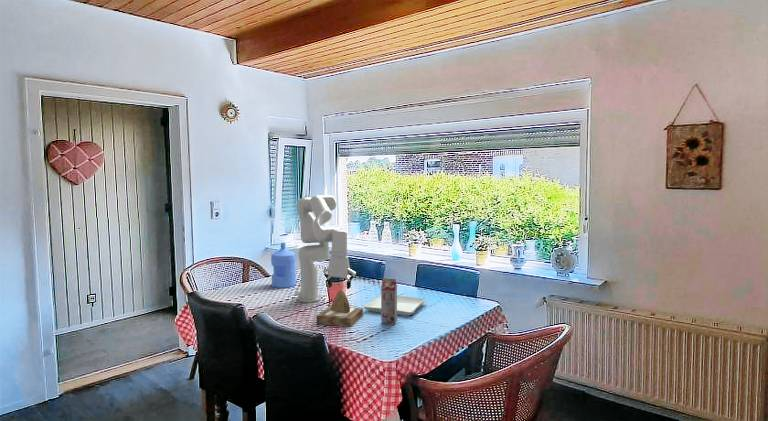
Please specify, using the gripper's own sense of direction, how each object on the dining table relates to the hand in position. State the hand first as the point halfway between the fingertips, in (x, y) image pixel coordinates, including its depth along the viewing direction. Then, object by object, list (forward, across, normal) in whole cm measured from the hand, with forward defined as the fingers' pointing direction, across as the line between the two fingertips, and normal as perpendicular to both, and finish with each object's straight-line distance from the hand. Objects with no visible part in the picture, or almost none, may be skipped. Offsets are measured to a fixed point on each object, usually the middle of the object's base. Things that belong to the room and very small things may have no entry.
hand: (339, 287), depth 240 cm
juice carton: (+16, +26, +1) cm, 30 cm away
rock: (+12, +1, 0) cm, 12 cm away
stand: (+16, +1, -1) cm, 16 cm away
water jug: (+19, -61, +58) cm, 86 cm away
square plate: (+17, +23, +26) cm, 39 cm away
